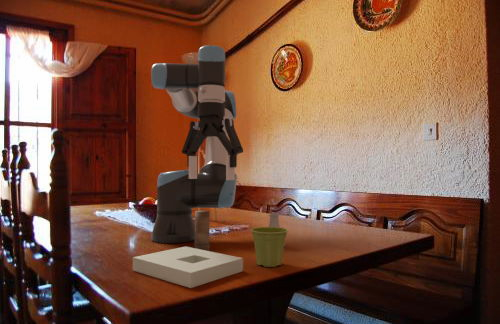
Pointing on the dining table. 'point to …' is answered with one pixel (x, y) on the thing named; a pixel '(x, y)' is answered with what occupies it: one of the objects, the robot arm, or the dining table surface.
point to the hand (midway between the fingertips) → (210, 179)
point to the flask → (274, 220)
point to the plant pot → (269, 245)
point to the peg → (202, 230)
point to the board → (188, 266)
